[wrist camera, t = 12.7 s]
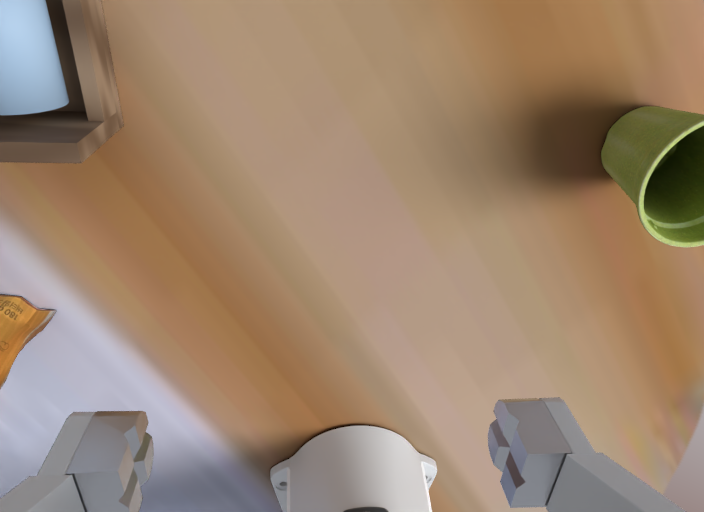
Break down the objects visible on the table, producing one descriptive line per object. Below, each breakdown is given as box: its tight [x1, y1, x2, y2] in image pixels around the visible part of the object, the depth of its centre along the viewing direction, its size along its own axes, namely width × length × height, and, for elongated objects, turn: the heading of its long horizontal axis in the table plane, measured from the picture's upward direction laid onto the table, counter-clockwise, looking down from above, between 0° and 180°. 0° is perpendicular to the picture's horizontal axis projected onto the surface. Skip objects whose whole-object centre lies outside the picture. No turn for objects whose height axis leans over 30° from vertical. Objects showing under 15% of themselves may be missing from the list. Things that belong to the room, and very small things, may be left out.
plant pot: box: [601, 106, 704, 247], centre depth 37 cm, size 9×9×9 cm
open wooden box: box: [0, 0, 124, 163], centre depth 29 cm, size 14×9×8 cm, turn 177°
